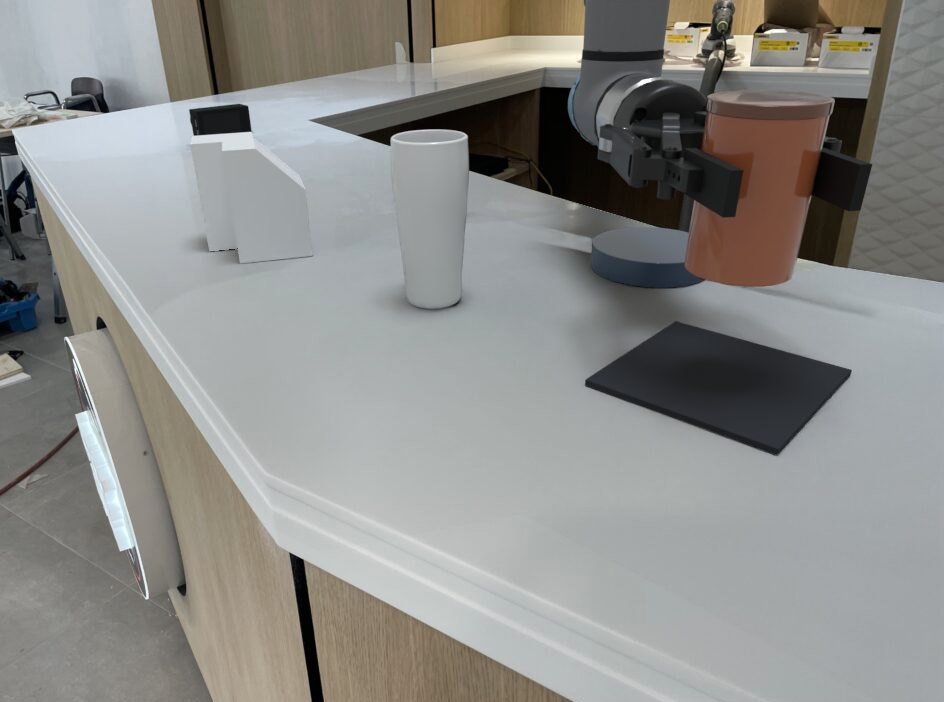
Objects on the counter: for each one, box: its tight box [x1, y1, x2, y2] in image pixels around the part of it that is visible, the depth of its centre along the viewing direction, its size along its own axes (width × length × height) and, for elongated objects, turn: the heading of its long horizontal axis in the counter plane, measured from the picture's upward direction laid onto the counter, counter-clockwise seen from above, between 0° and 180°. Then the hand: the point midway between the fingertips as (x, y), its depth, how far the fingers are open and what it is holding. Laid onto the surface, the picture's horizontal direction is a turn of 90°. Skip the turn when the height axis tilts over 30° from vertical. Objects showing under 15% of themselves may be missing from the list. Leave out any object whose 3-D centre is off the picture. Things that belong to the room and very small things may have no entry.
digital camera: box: [188, 103, 253, 136], centre depth 142 cm, size 10×5×7 cm, turn 126°
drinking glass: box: [390, 129, 470, 310], centre depth 66 cm, size 7×7×15 cm
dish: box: [590, 226, 706, 289], centre depth 75 cm, size 12×12×2 cm
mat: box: [584, 320, 852, 456], centre depth 54 cm, size 14×14×1 cm
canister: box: [684, 89, 836, 288], centre depth 47 cm, size 7×7×11 cm
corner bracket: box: [189, 131, 314, 264], centre depth 82 cm, size 11×11×12 cm
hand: (796, 190), depth 42 cm, fingers closed on canister, 7 cm apart
